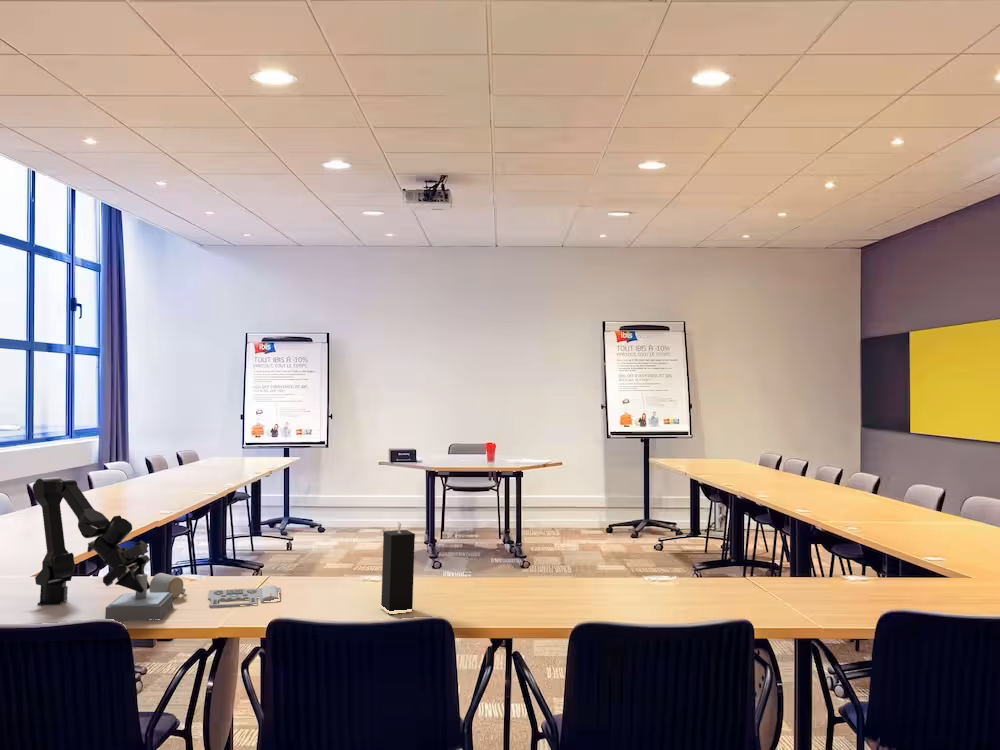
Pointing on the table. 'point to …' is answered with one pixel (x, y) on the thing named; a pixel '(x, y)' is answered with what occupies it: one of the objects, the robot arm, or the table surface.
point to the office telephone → (243, 595)
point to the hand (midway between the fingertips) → (145, 590)
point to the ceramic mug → (167, 584)
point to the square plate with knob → (140, 596)
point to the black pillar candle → (398, 569)
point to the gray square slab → (139, 611)
